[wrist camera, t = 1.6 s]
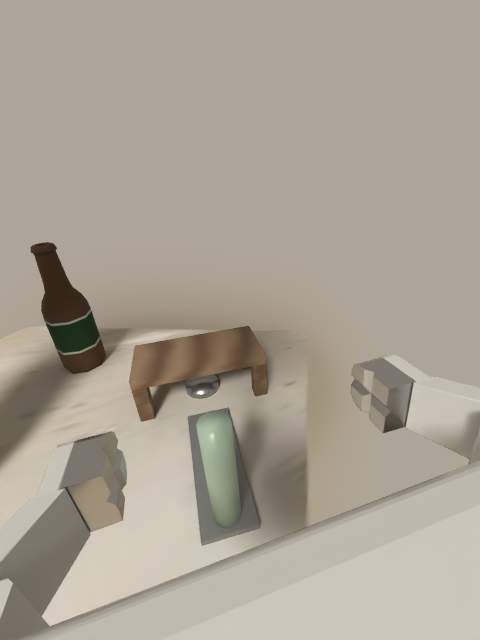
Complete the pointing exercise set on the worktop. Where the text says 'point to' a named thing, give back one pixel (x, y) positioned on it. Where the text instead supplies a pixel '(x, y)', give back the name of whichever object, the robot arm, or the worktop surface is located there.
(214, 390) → the silver flat disc
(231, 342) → the bench
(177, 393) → the worktop surface
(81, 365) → the beer bottle
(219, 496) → the cylinder
